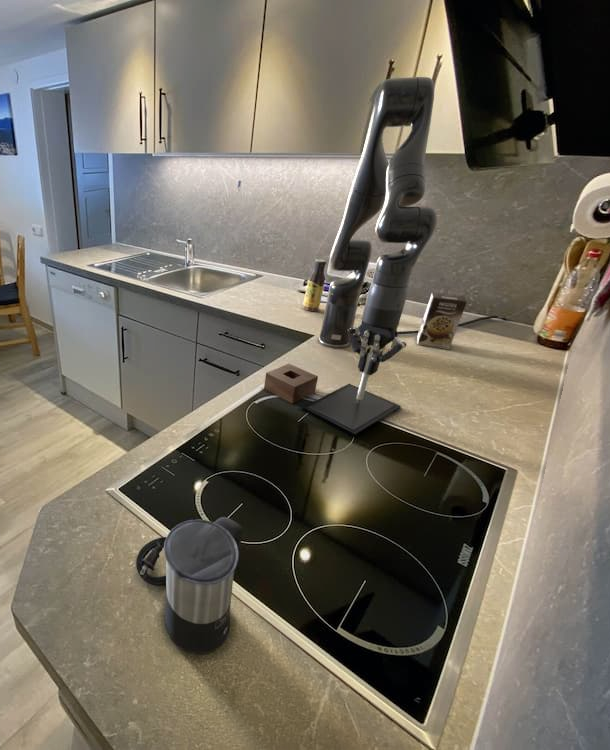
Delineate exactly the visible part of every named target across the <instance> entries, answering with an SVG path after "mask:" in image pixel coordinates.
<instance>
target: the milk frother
mask: <svg viewBox="0 0 610 750" xmlns="http://www.w3.org/2000/svg"><path fill="white" fill-rule="evenodd" d="M243 533H244V529H243V526H242V525H241V524H239V523H238V522H237V521H234V519H231V518H229V517H226V516H221V517H219V518H217V519H216V520H215V521H210V520H206V519H190V520H186V521H182V522H179V524H177V525H175V526H174V527H173V528H171V530H170V531H169V532H168V534H167V536H161V537H158V538H154V539H152V540H150V541H149V542H146V543H145V544H144V545H143V546H142V547H141V549H140V550H139V551H138V553H137V557H136V559H135V567H136V571H137V573H138V575H139V577H140V578H141V579H142V580H143V581H144V582H146V583H147V584H150V585H152V586H155V587H164V586H165V587H166V593H165V594H166V597H165V598H166V600H165V607H164V611H163V624H164V629H165V631H166V633H167V635H168V637H169V638H170V640H171V641H172V642H173V643H174V644H175V645H176V646H177V647H178V648H180V649H182V650H183V651H185V652H187V653H191V654H196V655H197V654H198V655H203V654H204V655H205V654H209V653H213V652H215V651H216V650H218V649H219V648H220V647H221V646H222V645H223V644H224V643H225V642H226V640H227V639H228V636H229V634H230V631H231V617H230V616H231V614H230V612H231V603H232V594H233V585H234V576H235V572H236V570H237V567H238V563H239V557H240V552H241V551H240V550H241V545H242V544H241V542H242V539H243ZM162 551H163V554H164V558H165V561H166V563H165V564H166V565H165V567H166V573H165V575H162V576H154V575H152V574H149V573H148V569H150V570H151V571H155V565H157V562H158V559H159V558H160V553H161V552H162Z"/></svg>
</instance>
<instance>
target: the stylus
mask: <svg viewBox="0 0 610 750" xmlns="http://www.w3.org/2000/svg"><path fill="white" fill-rule="evenodd" d="M372 353H373V352H370V353H368V355H367V359H366V363H365V367H364V371H363V372H362V375H361V379H360V383H359V386H358V388H359V390H358V394H357V397H356V398H357V399H358V400H357V403H360V401H361V400H362V399H363V396H364V392H365V391H366V388H367V385H368V380H369V376H370V375H368V374H367V371H368V367H369V363H370V361H371V358H372Z"/></svg>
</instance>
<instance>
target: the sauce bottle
mask: <svg viewBox="0 0 610 750" xmlns="http://www.w3.org/2000/svg"><path fill="white" fill-rule="evenodd" d="M326 266H327V260H326V259H322V258H318V259H317V258H316V259H315V260H314V266H313V271H312V273H311V275H310V276H309V278H308V280H307V284H306V288H305V293H304V298H303V303H302V308H303V310H305V311H308V312H316V311H318V310H319V308H320V306H321V301H322V297H323V292H324V287H325V282H326V277H325V269H326V268H325V267H326Z"/></svg>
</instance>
